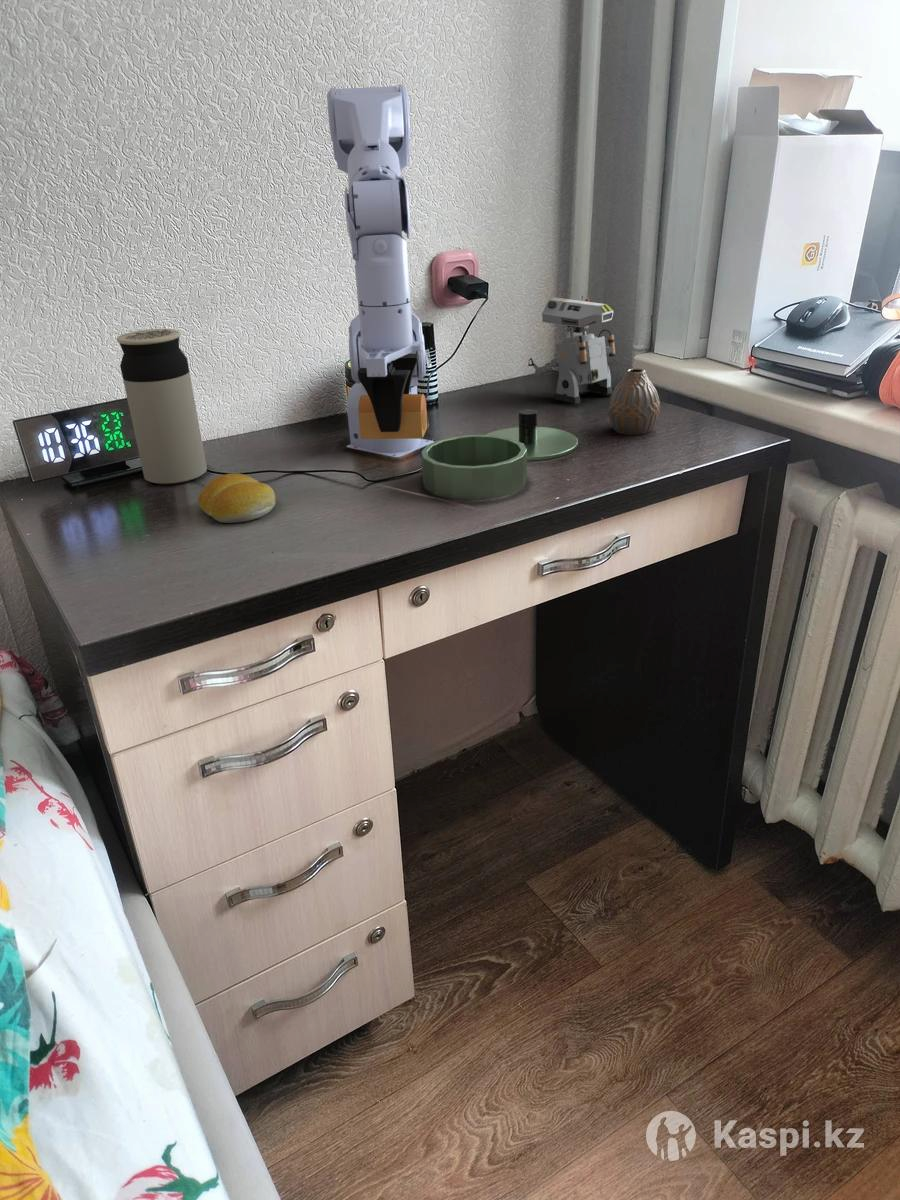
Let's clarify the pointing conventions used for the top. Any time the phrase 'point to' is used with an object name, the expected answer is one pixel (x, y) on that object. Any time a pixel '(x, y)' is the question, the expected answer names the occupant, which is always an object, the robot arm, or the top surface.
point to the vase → (634, 404)
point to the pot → (474, 467)
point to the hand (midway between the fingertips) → (393, 425)
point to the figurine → (579, 348)
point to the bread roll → (236, 498)
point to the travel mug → (162, 406)
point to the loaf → (410, 423)
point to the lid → (539, 438)
